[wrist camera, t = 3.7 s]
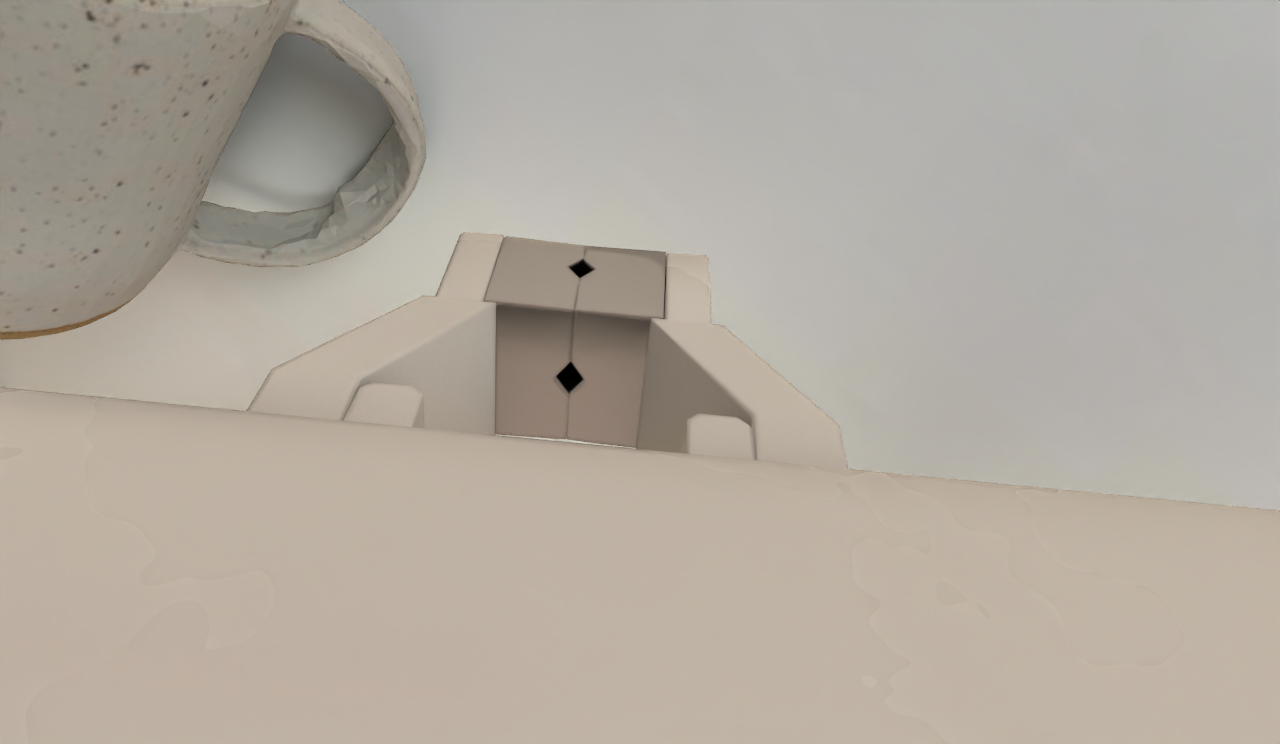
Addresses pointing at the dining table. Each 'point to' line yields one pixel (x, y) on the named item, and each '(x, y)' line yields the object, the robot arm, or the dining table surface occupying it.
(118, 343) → the dining table surface
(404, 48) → the dining table surface
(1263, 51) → the dining table surface
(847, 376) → the dining table surface
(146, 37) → the ceramic mug
